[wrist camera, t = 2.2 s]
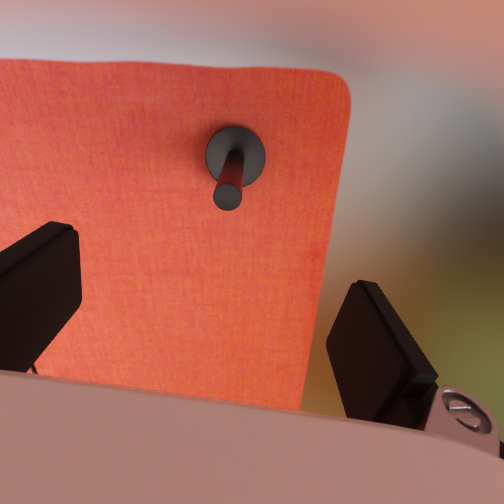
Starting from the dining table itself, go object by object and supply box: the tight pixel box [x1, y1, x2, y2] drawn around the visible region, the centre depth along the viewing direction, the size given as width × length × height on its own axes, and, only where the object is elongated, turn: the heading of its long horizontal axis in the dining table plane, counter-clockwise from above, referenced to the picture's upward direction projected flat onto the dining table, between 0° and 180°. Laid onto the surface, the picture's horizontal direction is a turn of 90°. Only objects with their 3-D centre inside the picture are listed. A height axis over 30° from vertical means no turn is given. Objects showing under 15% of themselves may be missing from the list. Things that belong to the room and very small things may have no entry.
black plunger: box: [205, 125, 265, 211], centre depth 25 cm, size 6×6×14 cm
